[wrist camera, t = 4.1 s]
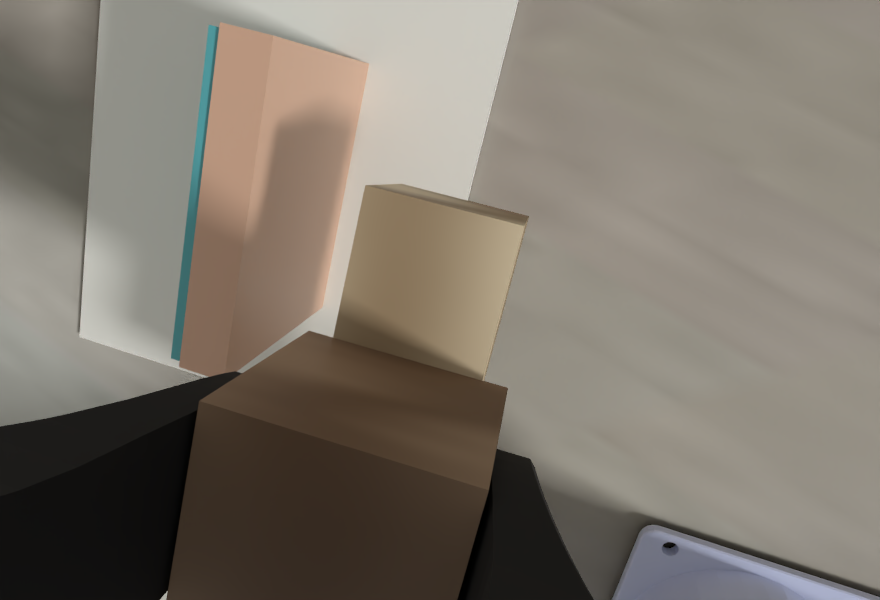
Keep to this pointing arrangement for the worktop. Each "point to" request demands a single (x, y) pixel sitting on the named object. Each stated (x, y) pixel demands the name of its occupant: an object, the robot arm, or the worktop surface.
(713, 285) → the worktop surface
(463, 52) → the rubber mat
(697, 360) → the worktop surface
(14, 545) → the robot arm
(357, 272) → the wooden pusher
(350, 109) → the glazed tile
